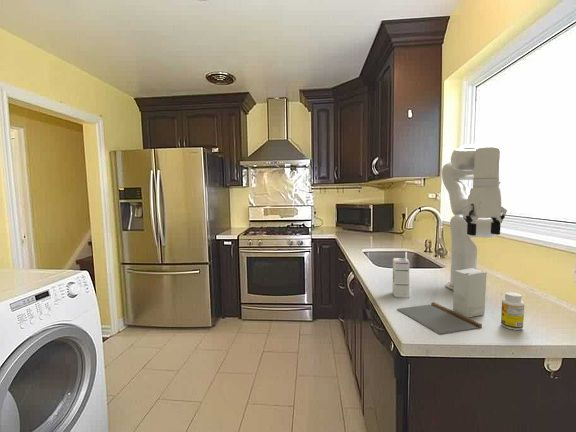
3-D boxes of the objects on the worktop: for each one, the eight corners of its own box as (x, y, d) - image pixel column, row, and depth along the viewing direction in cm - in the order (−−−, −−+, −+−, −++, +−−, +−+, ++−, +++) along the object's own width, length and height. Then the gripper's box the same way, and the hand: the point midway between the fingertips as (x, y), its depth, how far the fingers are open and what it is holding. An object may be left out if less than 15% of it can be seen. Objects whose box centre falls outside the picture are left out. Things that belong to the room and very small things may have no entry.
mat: (430, 305, 114) (430, 304, 114) (477, 328, 95) (477, 327, 95) (396, 309, 110) (396, 308, 110) (439, 334, 91) (439, 333, 91)
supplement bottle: (501, 321, 100) (503, 290, 99) (523, 326, 96) (525, 293, 95) (499, 327, 95) (501, 294, 95) (522, 332, 92) (524, 298, 91)
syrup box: (409, 298, 122) (410, 261, 121) (393, 297, 123) (394, 260, 122) (406, 293, 127) (407, 258, 126) (391, 292, 129) (392, 257, 127)
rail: (433, 305, 114) (433, 301, 114) (481, 327, 95) (481, 324, 95) (431, 305, 114) (431, 302, 114) (479, 328, 95) (479, 324, 95)
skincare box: (470, 309, 110) (471, 267, 109) (485, 315, 105) (487, 271, 103) (451, 312, 108) (453, 269, 106) (466, 318, 102) (468, 273, 101)
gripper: (497, 184, 111) (494, 232, 113) (455, 184, 107) (453, 234, 109) (517, 184, 104) (514, 235, 105) (472, 183, 100) (470, 237, 101)
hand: (483, 234), depth 107 cm, fingers open, 9 cm apart
